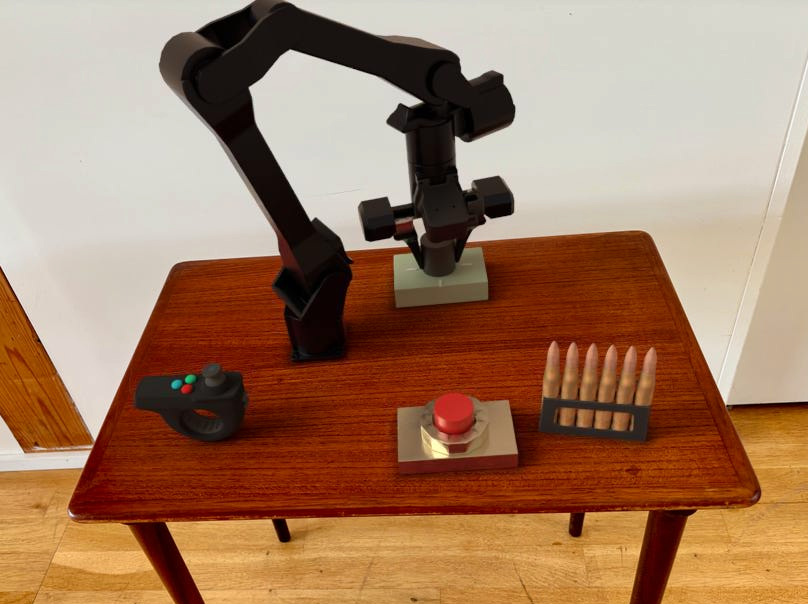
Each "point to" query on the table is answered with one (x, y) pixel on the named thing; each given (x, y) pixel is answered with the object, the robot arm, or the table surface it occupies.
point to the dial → (437, 257)
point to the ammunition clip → (597, 395)
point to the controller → (196, 401)
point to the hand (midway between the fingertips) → (438, 264)
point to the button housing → (456, 440)
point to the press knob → (454, 413)
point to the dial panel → (440, 281)
